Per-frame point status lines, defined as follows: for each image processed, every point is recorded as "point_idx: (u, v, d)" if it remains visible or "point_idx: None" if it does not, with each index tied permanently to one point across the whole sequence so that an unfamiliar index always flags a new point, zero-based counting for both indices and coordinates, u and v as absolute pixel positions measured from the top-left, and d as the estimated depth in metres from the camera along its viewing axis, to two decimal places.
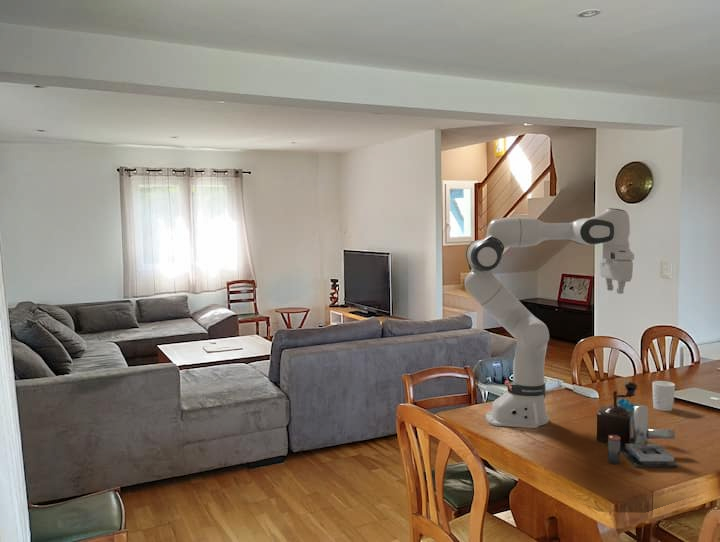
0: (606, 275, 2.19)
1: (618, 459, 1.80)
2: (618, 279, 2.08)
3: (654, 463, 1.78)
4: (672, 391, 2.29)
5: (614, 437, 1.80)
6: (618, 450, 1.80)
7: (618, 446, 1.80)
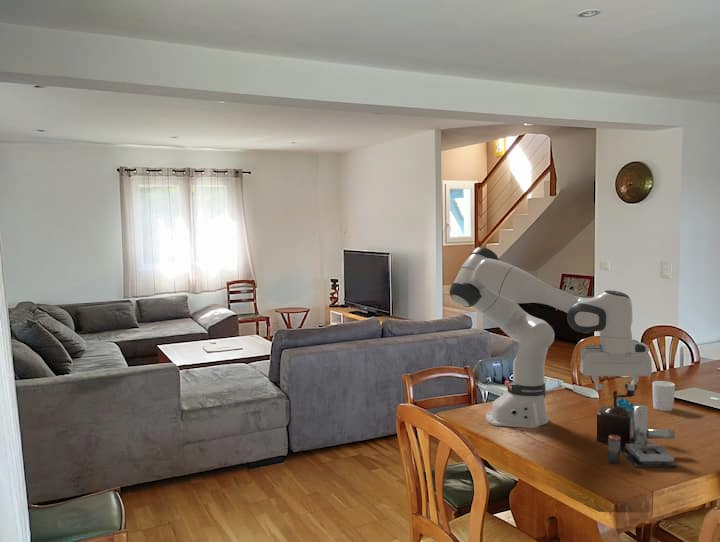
0: (605, 373, 1.78)
1: (618, 459, 1.80)
2: (643, 374, 1.77)
3: (654, 463, 1.78)
4: (672, 391, 2.29)
5: (614, 437, 1.80)
6: (618, 450, 1.80)
7: (618, 446, 1.80)
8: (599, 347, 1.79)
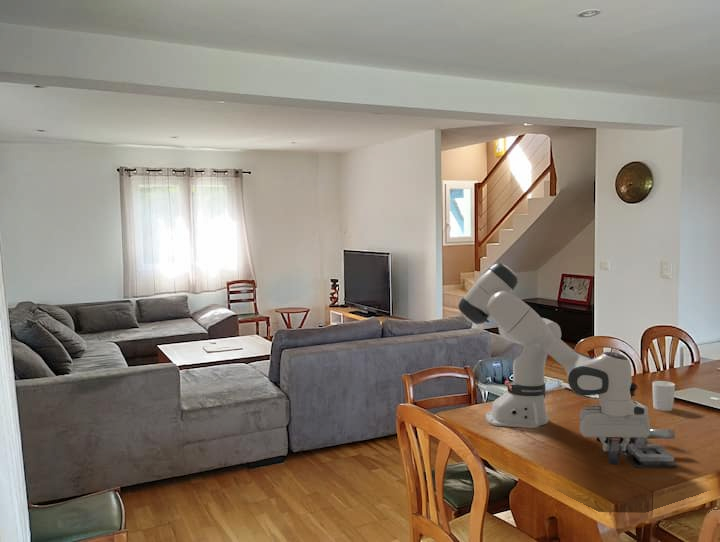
0: (604, 434, 1.79)
1: (618, 459, 1.80)
2: (642, 435, 1.79)
3: (654, 463, 1.78)
4: (672, 391, 2.29)
5: (614, 437, 1.80)
6: (618, 450, 1.80)
7: (618, 446, 1.80)
8: (598, 408, 1.80)
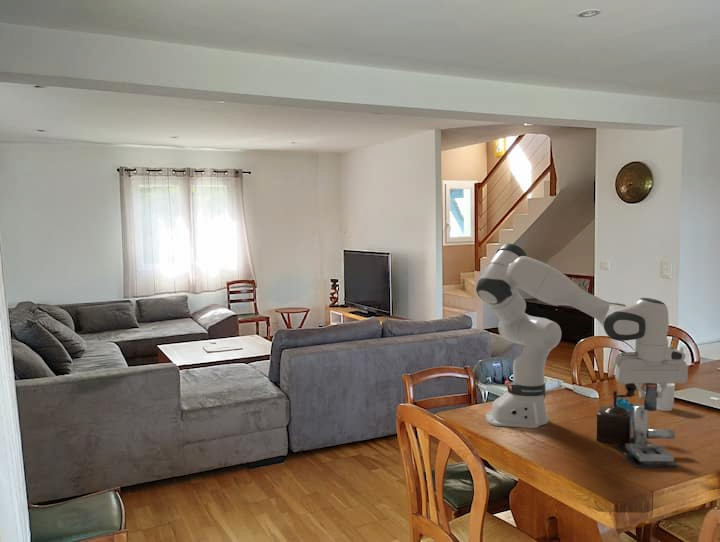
0: (641, 380, 1.78)
1: (655, 406, 1.79)
2: (679, 381, 1.78)
3: (654, 463, 1.78)
4: (672, 391, 2.29)
5: (651, 383, 1.79)
6: (655, 396, 1.79)
7: (655, 393, 1.79)
8: (635, 354, 1.79)
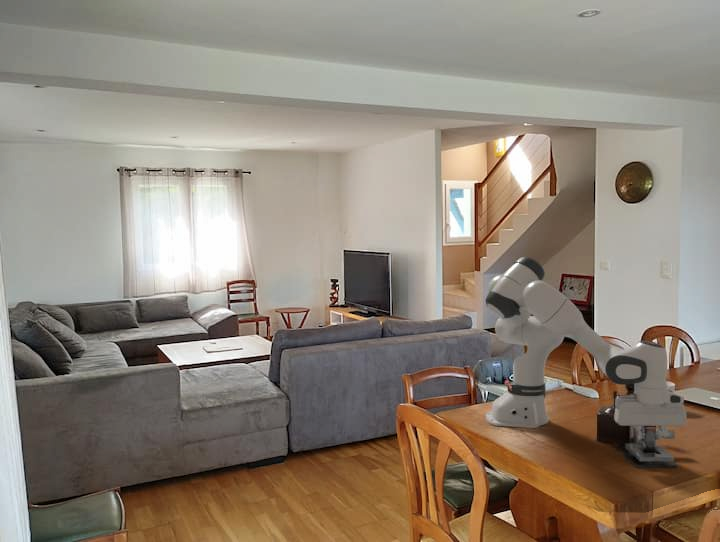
0: (640, 422, 1.79)
1: (654, 448, 1.80)
2: (678, 424, 1.79)
3: (654, 463, 1.78)
4: None
5: (650, 426, 1.80)
6: (654, 439, 1.80)
7: (654, 435, 1.80)
8: (634, 397, 1.80)
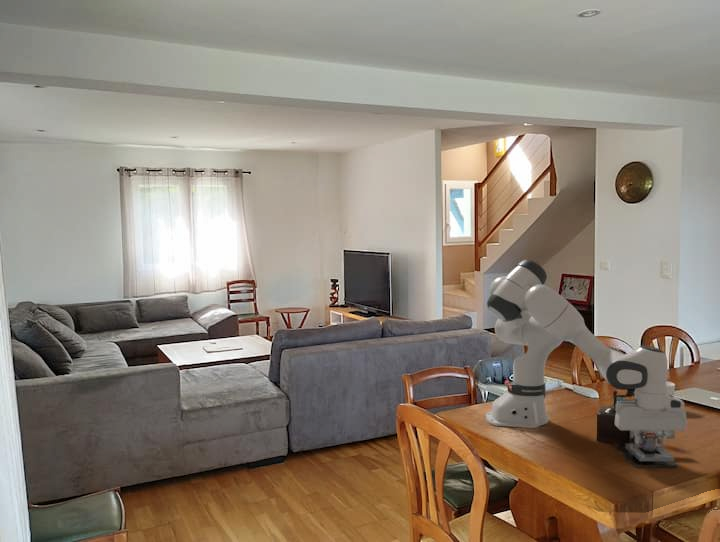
0: (640, 427, 1.80)
1: None
2: (678, 429, 1.79)
3: (654, 463, 1.78)
4: (672, 391, 2.29)
5: (649, 433, 1.81)
6: (653, 446, 1.80)
7: (654, 443, 1.80)
8: (634, 401, 1.80)
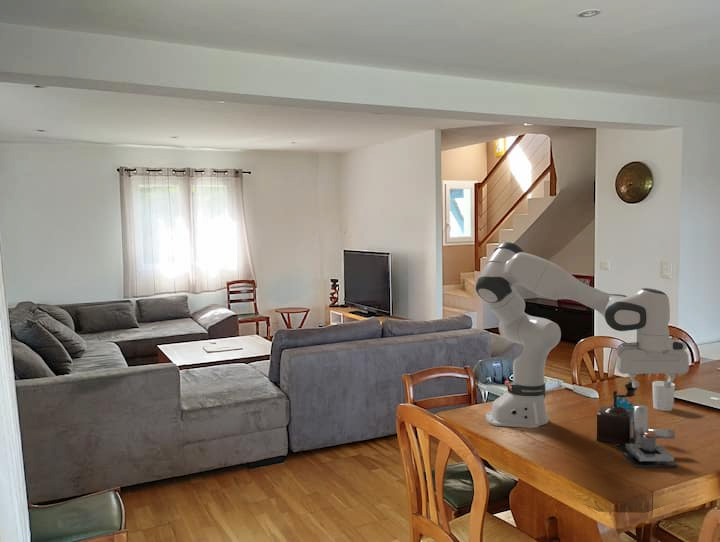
0: (642, 370, 1.78)
1: None
2: (680, 371, 1.78)
3: (654, 463, 1.78)
4: (672, 391, 2.29)
5: (650, 433, 1.81)
6: (654, 446, 1.80)
7: (654, 443, 1.80)
8: (636, 344, 1.79)
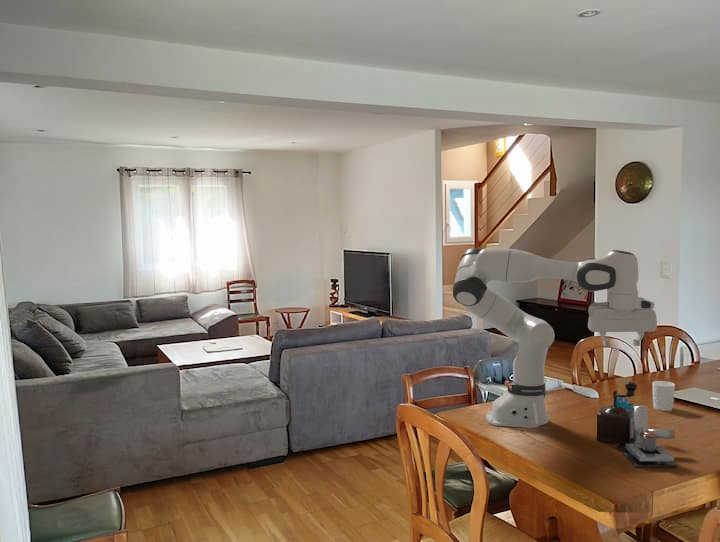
0: (612, 328, 1.86)
1: None
2: (648, 330, 1.85)
3: (654, 463, 1.78)
4: (672, 391, 2.29)
5: (650, 433, 1.81)
6: (654, 446, 1.80)
7: (654, 443, 1.80)
8: (606, 304, 1.86)
